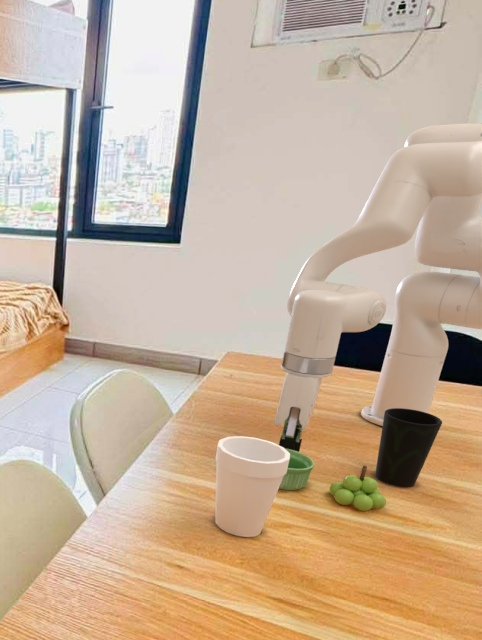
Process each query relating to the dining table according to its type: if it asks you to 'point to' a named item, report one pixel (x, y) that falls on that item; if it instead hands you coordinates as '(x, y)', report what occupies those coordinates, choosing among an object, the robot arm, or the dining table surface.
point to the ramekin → (297, 471)
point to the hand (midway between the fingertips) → (286, 458)
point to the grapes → (358, 492)
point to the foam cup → (247, 483)
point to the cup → (405, 445)
